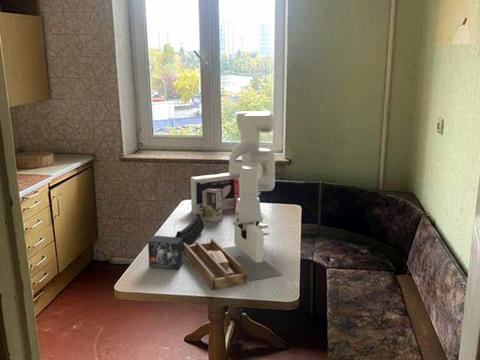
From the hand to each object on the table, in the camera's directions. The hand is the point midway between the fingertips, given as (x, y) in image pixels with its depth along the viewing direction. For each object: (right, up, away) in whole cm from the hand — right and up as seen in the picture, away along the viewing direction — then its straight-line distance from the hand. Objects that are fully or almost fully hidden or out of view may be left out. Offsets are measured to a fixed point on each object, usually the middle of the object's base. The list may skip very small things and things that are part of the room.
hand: (248, 237), depth 200 cm
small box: (-34, -12, -1) cm, 36 cm away
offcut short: (-12, -10, -3) cm, 16 cm away
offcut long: (-12, -13, -2) cm, 18 cm away
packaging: (-16, +7, +73) cm, 75 cm away
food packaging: (0, +6, +69) cm, 69 cm away
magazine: (-27, -6, +23) cm, 36 cm away
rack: (-15, -12, -3) cm, 20 cm away
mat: (0, -11, +3) cm, 11 cm away
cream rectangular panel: (0, -7, +2) cm, 7 cm away
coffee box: (-18, +3, +56) cm, 59 cm away
